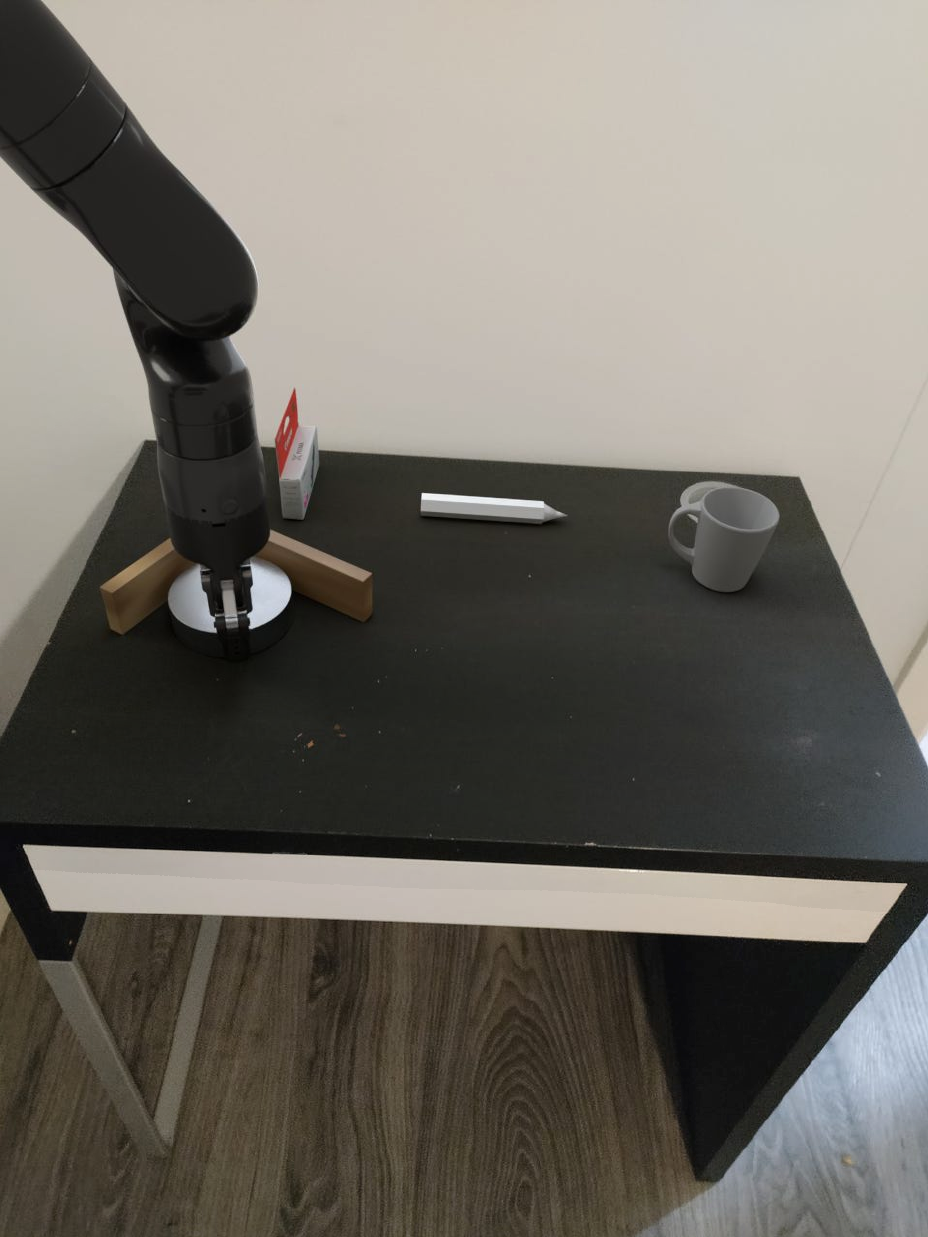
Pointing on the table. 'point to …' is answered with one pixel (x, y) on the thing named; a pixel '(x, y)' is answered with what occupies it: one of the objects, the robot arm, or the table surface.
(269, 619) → the white-topped round disc
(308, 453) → the ink box
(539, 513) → the white pencil
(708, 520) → the cup
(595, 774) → the table surface
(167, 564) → the corner fence
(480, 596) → the table surface
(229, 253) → the robot arm
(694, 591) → the table surface
